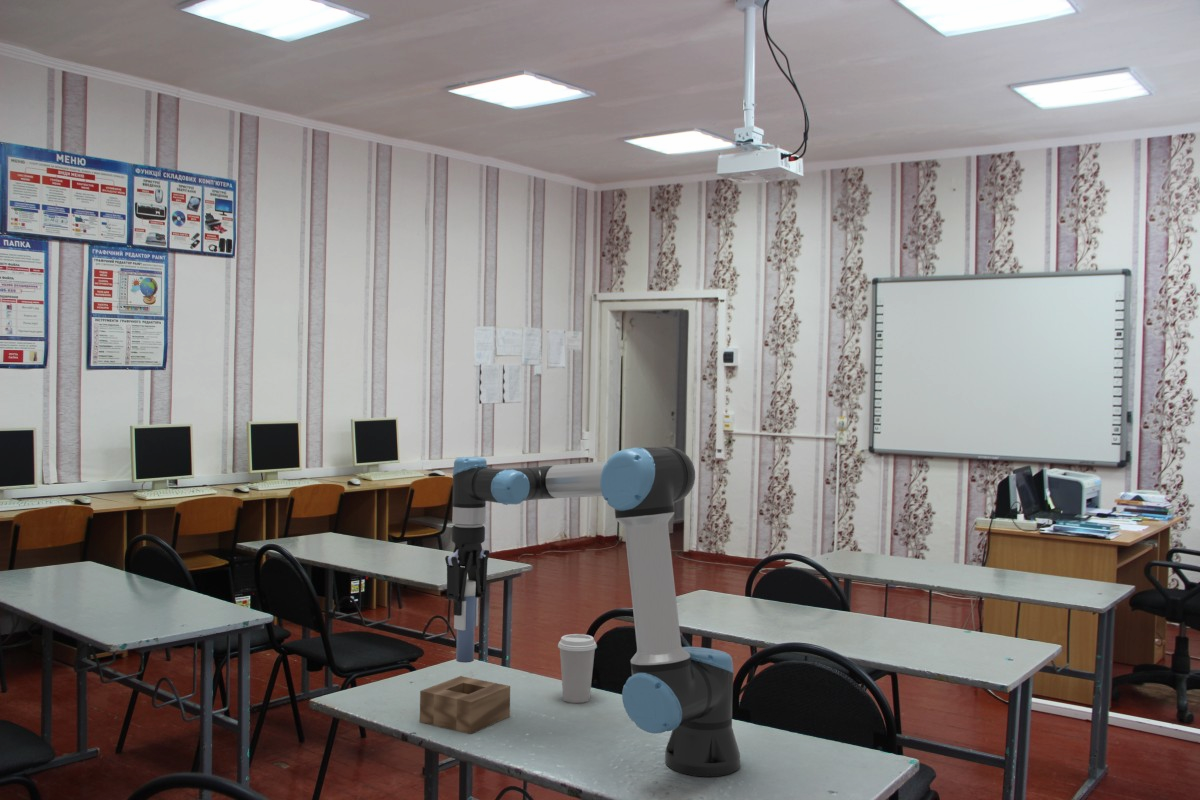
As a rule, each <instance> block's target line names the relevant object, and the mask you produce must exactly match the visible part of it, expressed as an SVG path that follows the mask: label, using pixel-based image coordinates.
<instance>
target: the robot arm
mask: <svg viewBox="0 0 1200 800" xmlns="http://www.w3.org/2000/svg"><path fill="white" fill-rule="evenodd" d="M452 470H453V472H452V517H451V519H452V520H451V521H452V524H454V525H452V526H451V542H452V543H454V549H453V553H452V554H451V555H446V556H445V558H444V560H445V564H446V598H447V599H448V600H450V601H453V615H454V617H453V618H454V619H453V629H454V630H457V629H458V630H465V628H466V601H463V600H464V594H465V587H466V580H474V581H476V594H475V628H476V627H479V611H480V598H484V595H485V594H486V591H487V579H488V578H487V577H488V576H487V575H488V562H489V561H488V560H489V556H490V554H491V553H490V550H489V549H484V548H483V547H482V544H483V543H484V542H485V541H486V527H485V526H484V524H486V518H487V517H486V516H487V515H486V508H487V507H486V502H490V503H496V504H497V503H498V504H502V505H506V506H508V505H520V504H521V503H522V502H525V501H534V500H536V501H537V500H548V499H550V500H551V499H553V500H554V499H565V498H571V499H572V498H588V497H590V498H591V497H603V499H604V500H605V501H606V502H607V505H609V506H610V507H611V508H613V509H614V517H615V521H617V523H619V524H620V525H621V526H623V529H624V536H625V546H626V554H627V564H628V565H627V566H628V574H629V576H628V577H629V585H630V593H631V603H632V611H633V622H634V630H635V631H634V632H635V642H636V653H635V654H634V655H633V656H632V657H631V659H630V666H631V667H630V668H631V676H629V677H628V678H627V680H626V682H625V684H624V685H623V688H622V693H621V698H622V705H623V708H624V710H625V712H626V715H627V716H628V718H629V719H630V721H631V722H633V723H634V724H635V725H636V727H638V728H639V729H640V730H641V731H643V732H646V733H649V734H662V733H665V732H671V733H670V736H669V739H668V742H667V745H666V748H665V753H664V754H665V758H664V759H665V760H664V761H665V764H666V766H667V767H669V769H671V770H673V771H675V772H678V773H681V774H684V775H689V776H694V777H721V776H727V775H730V774H732V773H735V772H737V771H738V770H739V769H740V766H741V753H740V750H739V749H740V748H739V746H738V742H737V739H736V736H735V733H734V729H733V699H734V695H733V693H734V692H733V691H734V675H735V671H734V663H733V658H732V656H731V654H729V653H728V652H725V651H722V650H718V649H715V648H709V647H708V648H707V647H698V646H682V642H681V641H682V640H681V631H680V622H679V614H678V604H677V603H678V602H677V595H676V586H675V578H674V568H673V567H674V566H673V559H672V558H673V557H672V548H671V540H670V532H669V531H670V530H669V522H670V520H671V519H672V518H673V516H674V515H675V506H674V503H677V502H679V501H682V500H683V499H684V498H685V497H687V496H688V495H689V494H690V492H691V491H692V489H693V487H694V485H695V483H696V482H695V481H696V470H695V465H694V464H693V461H692V460H691V458H690V456H688V454H686V453H685V452H684V451H682V450H681V449H678V448H676V447H672V446H659V447H656V446H655V447H653V446H652V447H646V446H644V447H642V446H641V447H631V448H626V449H622V450H619V451H616V452H615V453H614V454H612V455H611V456H610V457H609V458H608V459H607V461H596V462H595V461H594V462H581V463H571V464H569V463H568V464H557V465H556V464H555V465H540V466H532V467H513V468H490V467H488V463H487V459H486V458H485V457H478V456H462V457H457V458H455V460H454V462H453V469H452ZM484 593H485V594H484Z"/></svg>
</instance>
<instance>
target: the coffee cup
mask: <svg viewBox="0 0 1200 800" xmlns="http://www.w3.org/2000/svg"><path fill="white" fill-rule="evenodd" d="M557 648H558V649H559V655H560V656H559V657H560V670H561V687H562V688H561V689H562V700H563V701H564V702H565V703H566V702H567V703H571V704H582V703H587V702H589V701H590V697H591V689H592V679H593V671H594V670H593V669H594V659H595V650H596V649H597V648H598V645H597V643H596V641H595V639H594V637H593V636H592V635H589V634H583V633H573V634H564V635H563V636H561V637H560V641H558V644H557Z"/></svg>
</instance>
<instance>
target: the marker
mask: <svg viewBox="0 0 1200 800" xmlns="http://www.w3.org/2000/svg"><path fill="white" fill-rule="evenodd" d="M475 594H476V581H474V580H468V579H467V580H466V587H465V594H464V600H463V601H466V628H465V630H458V629H456V649H455V650H456V655H455V656H456V658H455V661H456V662H457V663H466V664H467V663H472V662H473V661H475V636H476V635H475V630H476V629H475V628H476V627H475Z"/></svg>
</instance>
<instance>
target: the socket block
mask: <svg viewBox="0 0 1200 800" xmlns="http://www.w3.org/2000/svg"><path fill="white" fill-rule="evenodd" d="M419 692H420V693H419V694H420V695H419V723H423V724H425V725H426V724H427V725H431V726H435V727H439V728H444V729H448V730H452V731H456V732H461V733H465V734H468V735H472V734H474V733H477V732H479V731H481V730H483V729H485V728H487V727H489V726H492V725H494V724H496V723H498V722H501V721H502V720H505V719H507V718H509V717H511V685H507V684H502V683H497V682H492V681H487V680H482V679H477V678H474V677H473V678H472V677H468V676H462V675H460V676H457V677H454V678H452V679H449V680H446V681H444V682H441V683H438V684H435V685H433V686H430V687H427V688H423V689H422V690H420V691H419Z"/></svg>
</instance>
